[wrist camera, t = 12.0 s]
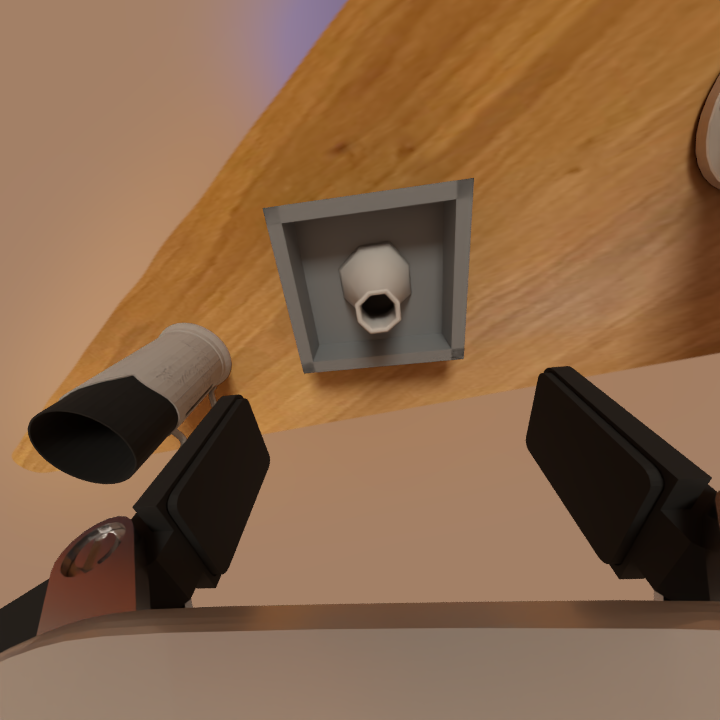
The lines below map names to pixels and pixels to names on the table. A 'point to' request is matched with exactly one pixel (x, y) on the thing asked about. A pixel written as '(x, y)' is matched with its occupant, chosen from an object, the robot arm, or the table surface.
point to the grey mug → (131, 406)
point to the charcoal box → (363, 227)
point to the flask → (376, 285)
